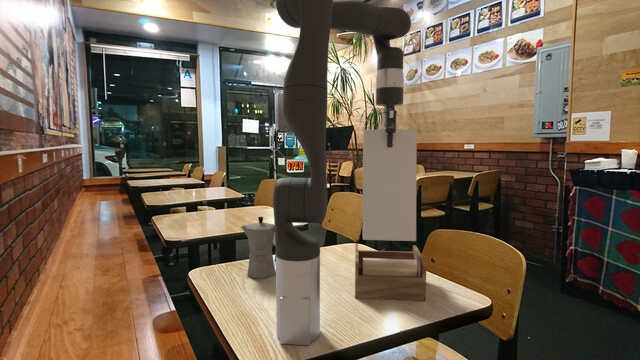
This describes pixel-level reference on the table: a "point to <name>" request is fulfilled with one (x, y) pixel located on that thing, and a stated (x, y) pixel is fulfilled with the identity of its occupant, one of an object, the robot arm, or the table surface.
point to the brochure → (389, 186)
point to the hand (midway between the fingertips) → (388, 149)
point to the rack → (390, 278)
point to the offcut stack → (390, 267)
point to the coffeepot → (260, 249)
